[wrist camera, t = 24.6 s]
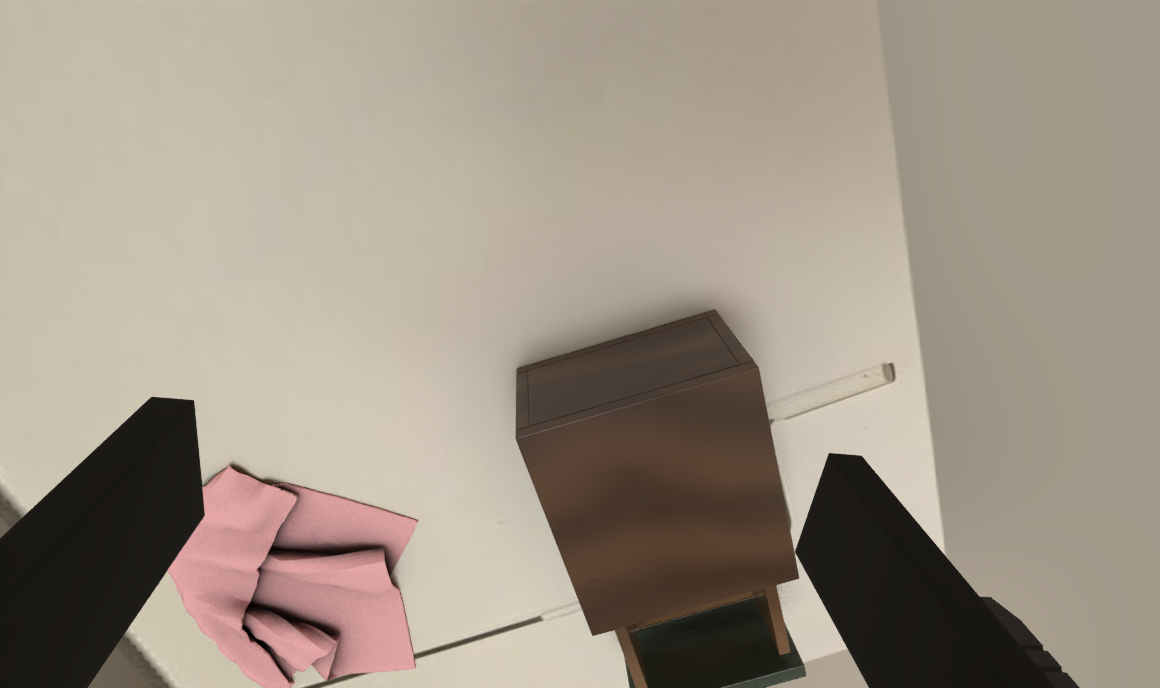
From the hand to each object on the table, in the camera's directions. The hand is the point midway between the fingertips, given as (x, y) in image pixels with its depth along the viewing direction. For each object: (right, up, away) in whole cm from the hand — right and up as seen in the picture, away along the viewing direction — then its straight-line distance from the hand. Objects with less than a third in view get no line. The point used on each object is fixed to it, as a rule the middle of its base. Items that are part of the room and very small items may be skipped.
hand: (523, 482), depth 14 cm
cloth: (-20, -16, +36) cm, 44 cm away
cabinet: (+6, -4, +33) cm, 33 cm away
